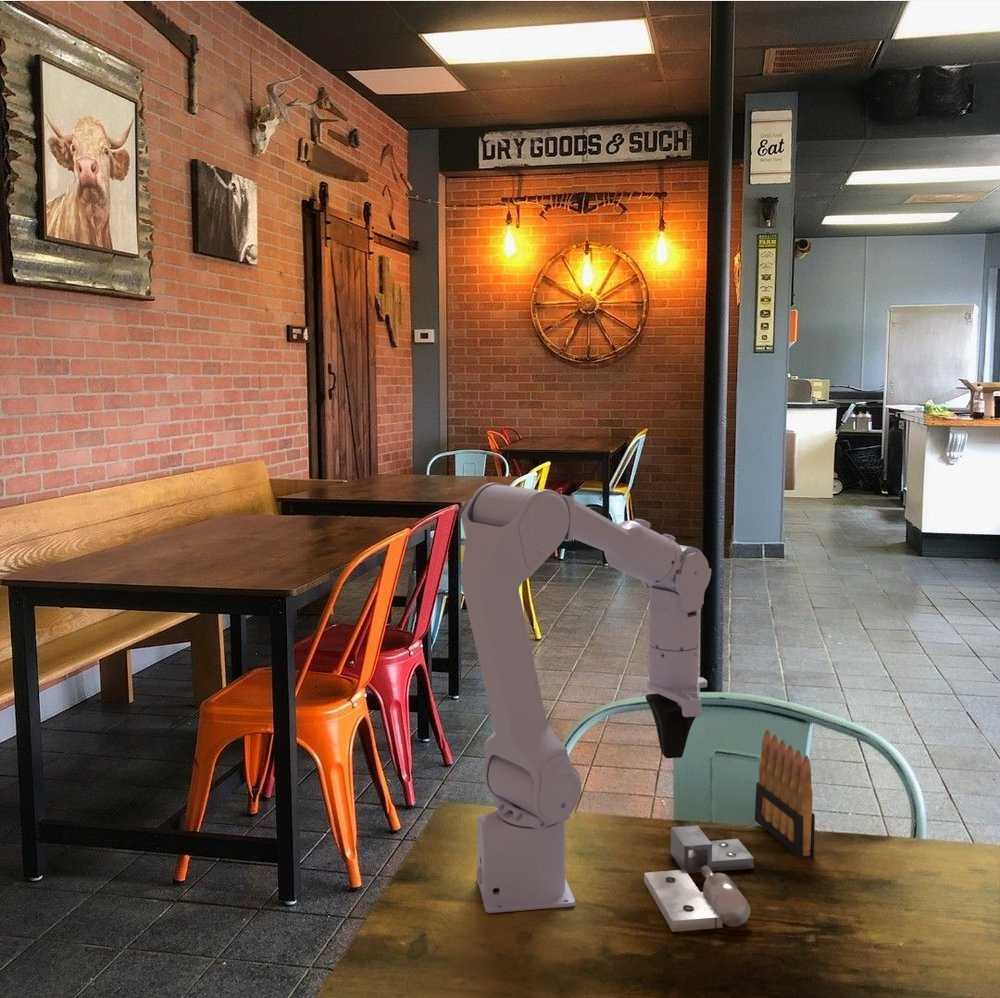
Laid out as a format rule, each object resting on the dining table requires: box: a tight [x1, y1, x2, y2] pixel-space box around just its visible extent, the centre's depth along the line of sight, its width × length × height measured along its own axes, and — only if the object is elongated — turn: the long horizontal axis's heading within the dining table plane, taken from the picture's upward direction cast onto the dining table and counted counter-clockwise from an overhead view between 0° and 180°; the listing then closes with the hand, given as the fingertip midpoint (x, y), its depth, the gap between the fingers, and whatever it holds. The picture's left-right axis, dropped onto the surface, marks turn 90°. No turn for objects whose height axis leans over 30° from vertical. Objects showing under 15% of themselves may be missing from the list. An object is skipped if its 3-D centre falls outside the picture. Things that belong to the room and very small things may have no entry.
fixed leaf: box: [643, 866, 751, 933], centre depth 107 cm, size 8×10×3 cm
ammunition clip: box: [754, 729, 816, 859], centre depth 122 cm, size 11×2×12 cm, turn 15°
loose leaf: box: [670, 825, 755, 874], centre depth 116 cm, size 8×5×3 cm, turn 98°
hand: (672, 755), depth 122 cm, fingers closed
